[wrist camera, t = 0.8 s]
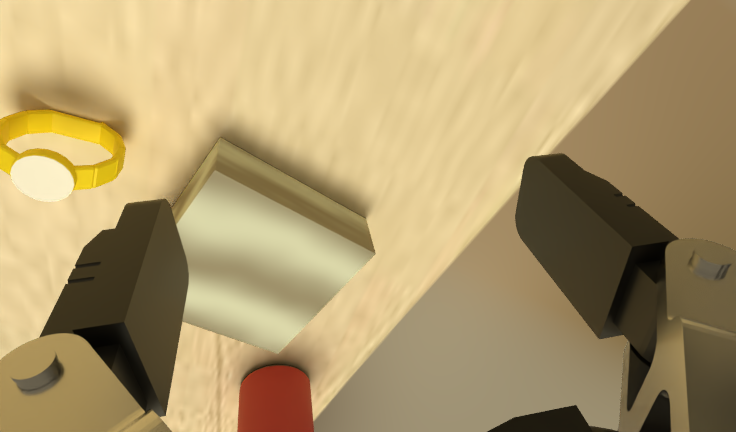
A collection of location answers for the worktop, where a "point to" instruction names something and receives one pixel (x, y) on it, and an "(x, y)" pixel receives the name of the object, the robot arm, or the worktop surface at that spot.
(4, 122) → the watch
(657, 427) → the robot arm
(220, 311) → the block
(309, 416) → the beer can
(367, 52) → the worktop surface
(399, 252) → the worktop surface
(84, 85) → the worktop surface
